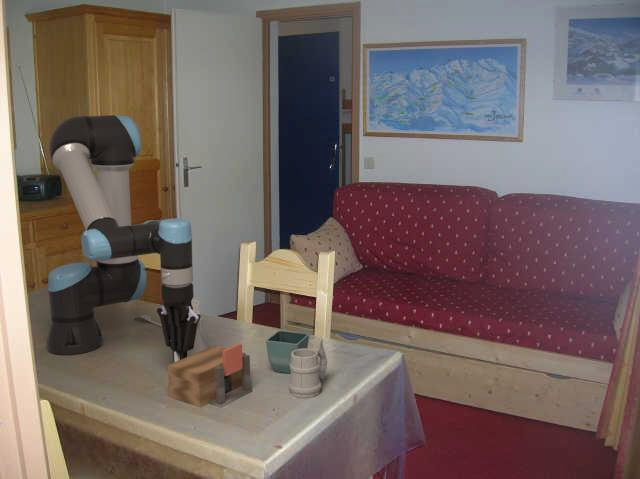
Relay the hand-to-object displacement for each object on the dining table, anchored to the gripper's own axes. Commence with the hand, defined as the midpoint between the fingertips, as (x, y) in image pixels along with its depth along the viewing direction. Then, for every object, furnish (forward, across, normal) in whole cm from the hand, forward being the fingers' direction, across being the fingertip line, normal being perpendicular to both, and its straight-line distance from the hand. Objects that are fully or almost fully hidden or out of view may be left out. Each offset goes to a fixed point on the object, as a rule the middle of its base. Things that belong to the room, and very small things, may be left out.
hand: (180, 375), depth 172 cm
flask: (+2, -10, +15) cm, 18 cm away
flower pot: (+2, +17, +21) cm, 27 cm away
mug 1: (+2, -23, +26) cm, 35 cm away
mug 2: (+1, +29, +14) cm, 33 cm away
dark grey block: (+2, +8, 0) cm, 8 cm away
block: (+1, +11, 0) cm, 11 cm away
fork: (+3, -41, +29) cm, 50 cm away
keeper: (-5, +17, 0) cm, 18 cm away
